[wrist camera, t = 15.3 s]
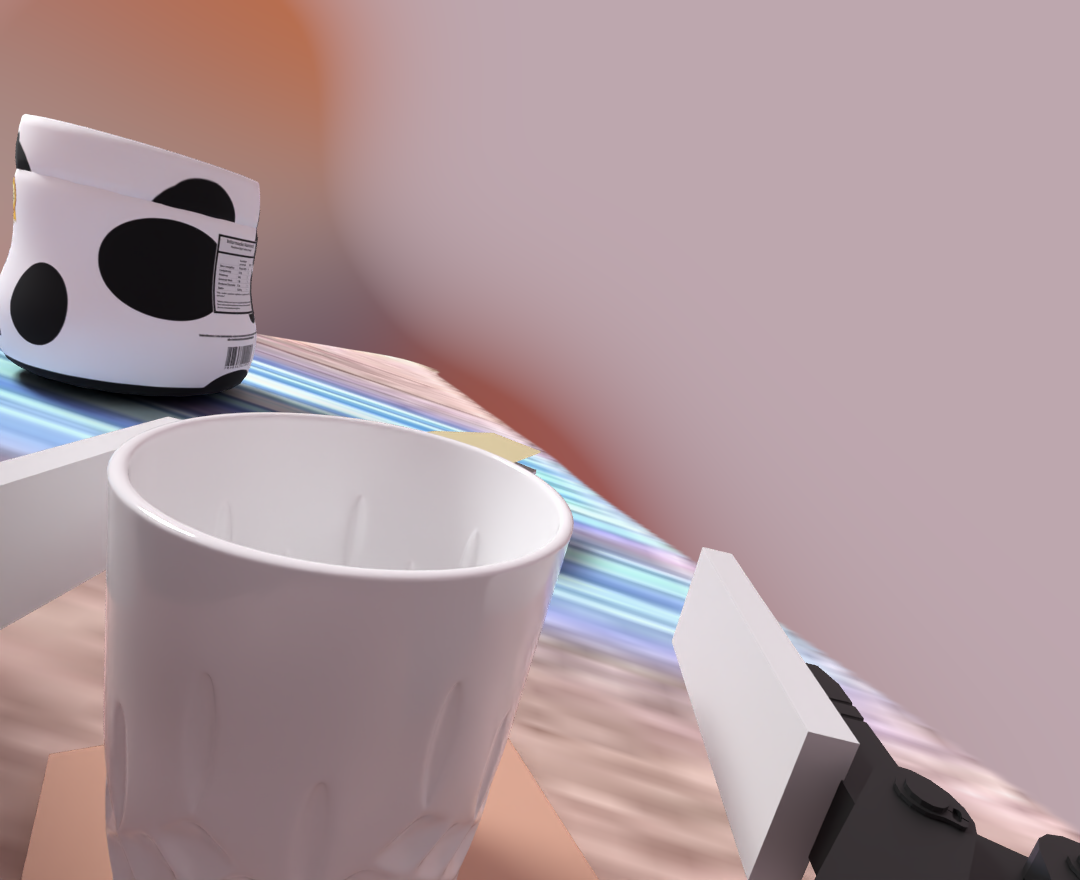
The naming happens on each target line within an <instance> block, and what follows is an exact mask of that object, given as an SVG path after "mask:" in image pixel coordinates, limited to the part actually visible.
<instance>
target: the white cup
mask: <svg viewBox="0 0 1080 880" xmlns="http://www.w3.org/2000/svg"><path fill="white" fill-rule="evenodd" d="M573 526H574V523H573V516H572V513H571V510H570V508H569V506H568V505H567V503H566V502H565V500H564V499H563V498H562V497H561V496H560V494H559V493H558V492H557V491H556V490H555V489H553V488H552V487H551V486H550V485H549V484H547V483H546V482H545V481H543V480H542V479H541V478H539V477H538V476H536V475H535V474H533V473H531V472H530V471H528V470H526V469H525V468H523V467H521V466H519V465H517V464H515V463H513V462H511V461H509V460H507V459H505V458H502V457H500V456H498V455H495V454H493V453H491V452H488V451H485V450H483V449H480V448H477V447H475V446H472V445H469V444H466V443H463V442H460V441H457V440H453V439H450V438H447V437H443V436H440V435H436V434H432V433H428V432H424V431H420V430H416V429H411V428H407V427H402V426H397V425H392V424H387V423H381V422H375V421H369V420H363V419H356V418H348V417H339V416H330V415H319V414H305V413H282V412H252V413H231V414H219V415H210V416H202V417H195V418H189V419H184V420H179V421H175V422H171V423H167V424H164V425H160V426H157V427H154V428H151V429H149V430H146V431H144V432H142V433H140V434H137V435H136V436H134V437H132V438H130V439H129V440H127V441H126V442H124V443H123V444H122V445H121V446H120V447H119V448H117V450H116V451H115V452H114V453H113V455H112V456H111V458H110V460H109V463H108V467H107V530H106V605H105V660H104V755H105V765H106V789H105V825H106V836H107V843H108V851H109V857H110V863H111V869H112V874H113V879H112V880H457V877H458V874H459V870H460V867H461V865H462V863H463V861H464V858H465V856H466V854H467V852H468V850H469V847H470V845H471V842H472V840H473V838H474V835H475V833H476V830H477V828H478V825H479V823H480V820H481V817H482V814H483V811H484V808H485V804H486V801H487V797H488V794H489V790H490V787H491V783H492V781H493V779H494V776H495V774H496V771H497V768H498V766H499V763H500V761H501V758H502V755H503V752H504V749H505V746H506V743H507V740H508V737H509V734H510V731H511V728H512V725H513V721H514V718H515V715H516V712H517V708H518V705H519V702H520V698H521V695H522V692H523V689H524V685H525V682H526V679H527V676H528V672H529V669H530V666H531V663H532V659H533V656H534V653H535V650H536V646H537V643H538V640H539V637H540V633H541V630H542V627H543V624H544V621H545V617H546V614H547V611H548V608H549V605H550V601H551V598H552V595H553V592H554V589H555V586H556V583H557V579H558V576H559V573H560V570H561V567H562V564H563V560H564V557H565V554H566V551H567V548H568V545H569V542H570V539H571V535H572V532H573Z"/></svg>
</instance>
